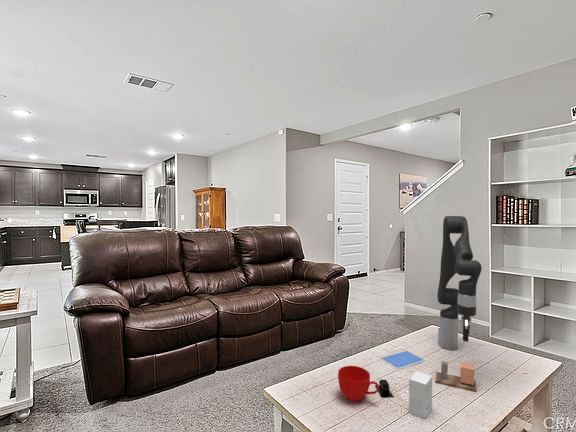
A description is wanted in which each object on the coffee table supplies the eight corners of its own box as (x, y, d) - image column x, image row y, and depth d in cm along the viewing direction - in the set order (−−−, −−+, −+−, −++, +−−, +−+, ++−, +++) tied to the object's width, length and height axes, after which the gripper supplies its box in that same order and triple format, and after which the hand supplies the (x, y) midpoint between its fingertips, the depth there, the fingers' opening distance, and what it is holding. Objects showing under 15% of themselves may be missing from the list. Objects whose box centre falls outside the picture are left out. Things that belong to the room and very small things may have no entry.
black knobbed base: (371, 384, 146) (371, 374, 145) (387, 384, 146) (387, 374, 146) (380, 401, 133) (380, 390, 133) (398, 400, 133) (398, 389, 133)
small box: (415, 402, 131) (416, 370, 131) (432, 408, 127) (432, 375, 127) (408, 412, 125) (408, 378, 125) (425, 419, 121) (426, 384, 121)
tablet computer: (397, 371, 158) (397, 368, 158) (379, 360, 169) (379, 357, 169) (425, 362, 167) (425, 360, 167) (406, 352, 178) (406, 350, 178)
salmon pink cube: (460, 381, 143) (460, 367, 143) (460, 376, 148) (460, 362, 148) (474, 384, 141) (474, 369, 141) (473, 379, 146) (473, 364, 145)
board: (435, 382, 146) (435, 365, 146) (436, 373, 154) (436, 357, 154) (476, 392, 139) (476, 373, 139) (475, 382, 147) (475, 364, 147)
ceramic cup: (373, 414, 124) (374, 388, 124) (332, 400, 133) (332, 375, 133) (383, 397, 135) (383, 373, 135) (344, 385, 144) (345, 362, 144)
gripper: (457, 298, 156) (456, 333, 157) (457, 306, 145) (456, 344, 146) (475, 300, 153) (474, 336, 154) (477, 309, 141) (475, 348, 142)
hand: (465, 340), depth 150 cm, fingers closed
